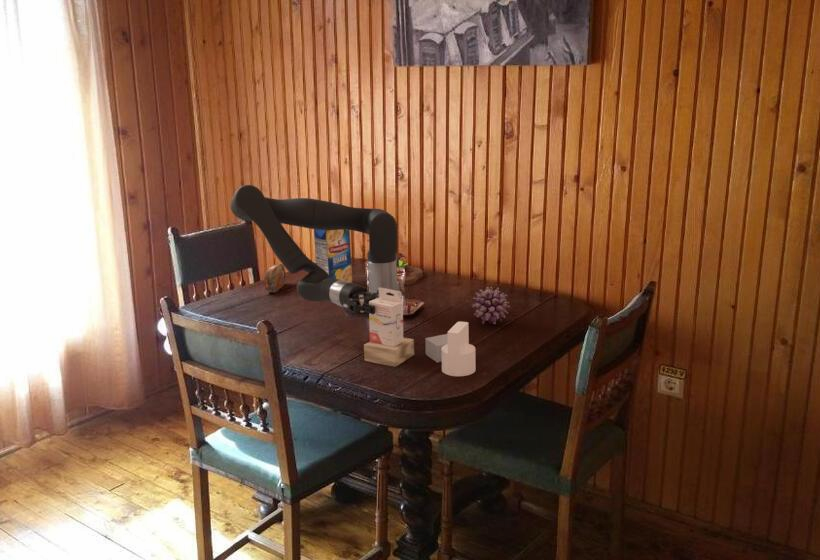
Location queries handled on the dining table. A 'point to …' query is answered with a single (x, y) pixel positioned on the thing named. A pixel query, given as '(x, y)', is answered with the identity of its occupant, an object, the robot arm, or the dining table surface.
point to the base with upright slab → (458, 352)
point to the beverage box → (334, 253)
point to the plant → (409, 270)
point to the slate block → (436, 346)
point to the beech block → (389, 352)
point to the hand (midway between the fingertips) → (385, 306)
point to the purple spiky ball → (490, 305)
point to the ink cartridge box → (387, 318)
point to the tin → (274, 278)
